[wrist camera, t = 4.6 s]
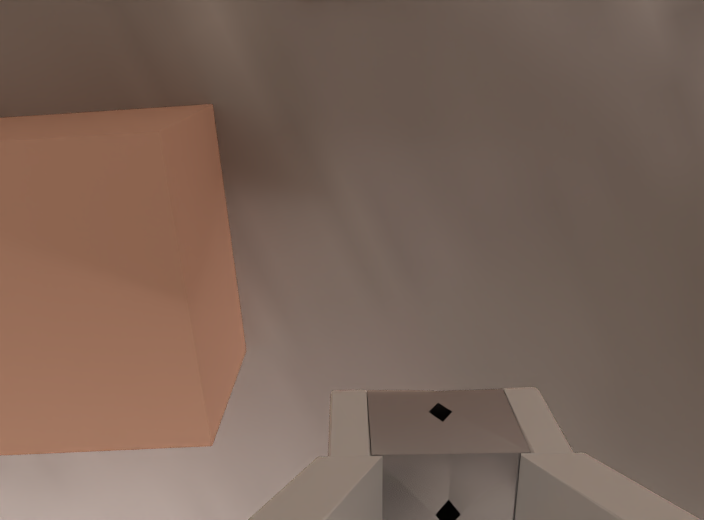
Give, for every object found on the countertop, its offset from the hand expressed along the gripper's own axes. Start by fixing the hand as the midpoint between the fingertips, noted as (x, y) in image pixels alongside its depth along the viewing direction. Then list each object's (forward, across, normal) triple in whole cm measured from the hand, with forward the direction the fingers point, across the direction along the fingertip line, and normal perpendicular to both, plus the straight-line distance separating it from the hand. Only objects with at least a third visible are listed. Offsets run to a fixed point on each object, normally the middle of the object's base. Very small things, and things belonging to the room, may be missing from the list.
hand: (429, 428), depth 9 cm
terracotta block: (+6, +7, -1) cm, 9 cm away
